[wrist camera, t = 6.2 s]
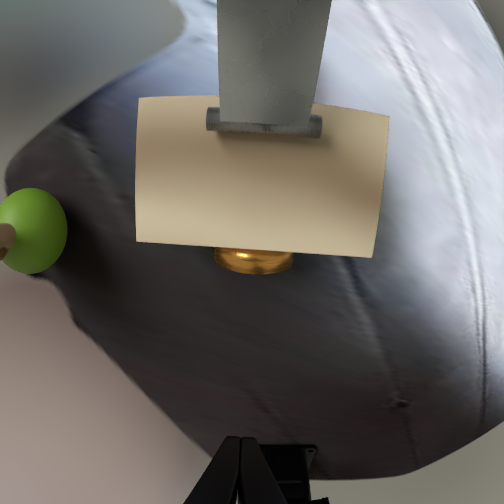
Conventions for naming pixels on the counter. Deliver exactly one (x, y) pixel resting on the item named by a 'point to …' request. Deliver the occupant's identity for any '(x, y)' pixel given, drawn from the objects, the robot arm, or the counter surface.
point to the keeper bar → (269, 66)
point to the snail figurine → (31, 230)
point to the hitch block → (258, 181)
